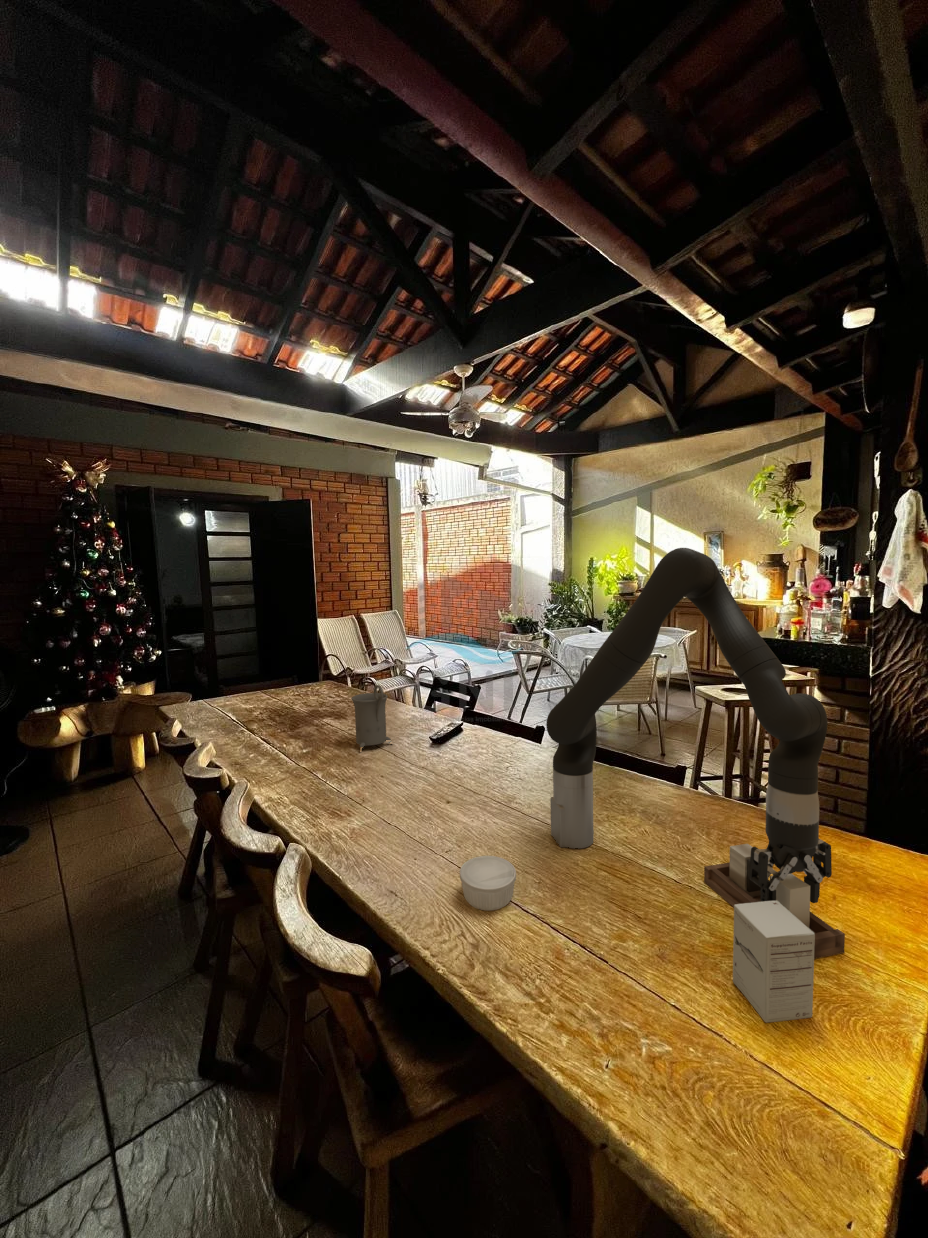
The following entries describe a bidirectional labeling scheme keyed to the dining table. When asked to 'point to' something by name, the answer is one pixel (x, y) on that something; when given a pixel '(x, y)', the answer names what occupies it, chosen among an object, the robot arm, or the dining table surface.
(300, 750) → the dining table surface
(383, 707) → the grey footed pot
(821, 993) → the dining table surface
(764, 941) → the supplement box
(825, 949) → the rail
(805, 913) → the grey upright block
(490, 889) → the ramekin
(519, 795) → the dining table surface
